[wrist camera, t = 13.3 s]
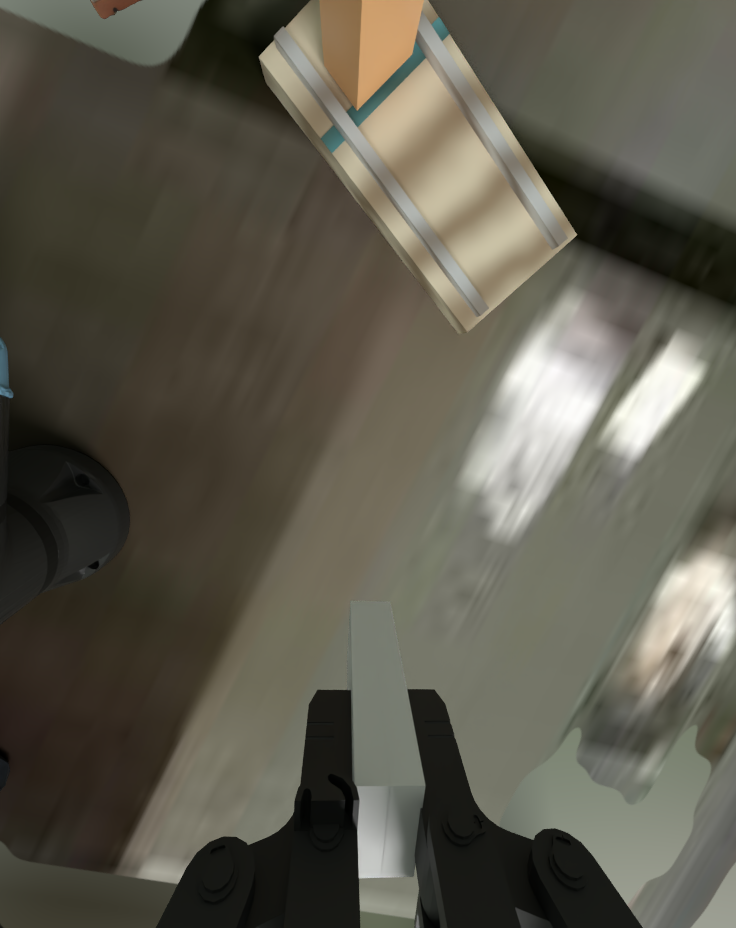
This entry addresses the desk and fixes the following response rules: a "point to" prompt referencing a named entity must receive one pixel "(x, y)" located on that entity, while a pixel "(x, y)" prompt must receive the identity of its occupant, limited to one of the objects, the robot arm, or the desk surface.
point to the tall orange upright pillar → (367, 42)
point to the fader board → (426, 165)
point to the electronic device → (111, 6)
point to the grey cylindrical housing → (3, 771)
